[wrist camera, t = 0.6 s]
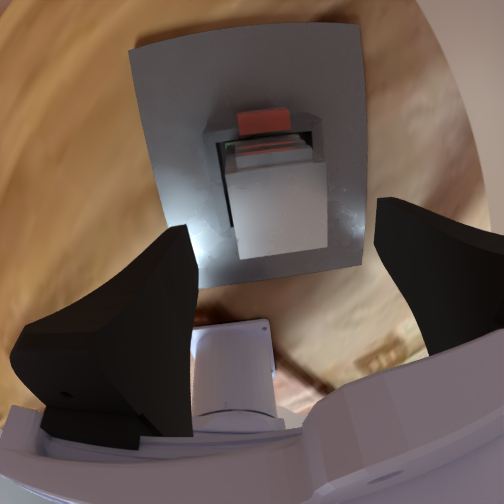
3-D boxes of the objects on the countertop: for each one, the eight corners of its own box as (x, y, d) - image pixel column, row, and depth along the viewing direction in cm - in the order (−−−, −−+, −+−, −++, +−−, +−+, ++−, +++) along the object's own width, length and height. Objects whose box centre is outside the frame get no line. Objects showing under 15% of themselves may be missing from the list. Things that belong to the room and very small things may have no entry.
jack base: (357, 258, 24) (381, 299, 20) (189, 282, 24) (182, 329, 20) (352, 26, 14) (390, 14, 10) (133, 51, 14) (100, 45, 10)
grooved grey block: (299, 191, 19) (329, 248, 14) (235, 200, 19) (238, 261, 14) (293, 121, 17) (327, 147, 11) (223, 130, 17) (220, 160, 11)
